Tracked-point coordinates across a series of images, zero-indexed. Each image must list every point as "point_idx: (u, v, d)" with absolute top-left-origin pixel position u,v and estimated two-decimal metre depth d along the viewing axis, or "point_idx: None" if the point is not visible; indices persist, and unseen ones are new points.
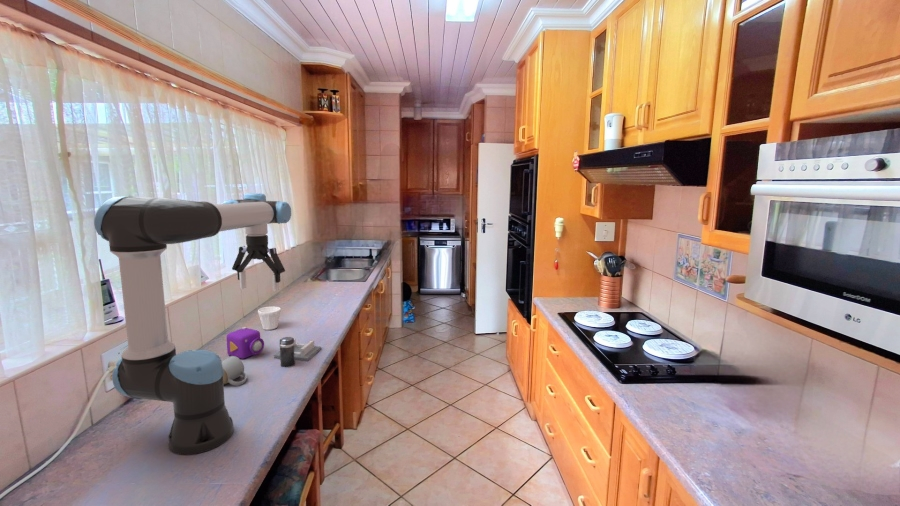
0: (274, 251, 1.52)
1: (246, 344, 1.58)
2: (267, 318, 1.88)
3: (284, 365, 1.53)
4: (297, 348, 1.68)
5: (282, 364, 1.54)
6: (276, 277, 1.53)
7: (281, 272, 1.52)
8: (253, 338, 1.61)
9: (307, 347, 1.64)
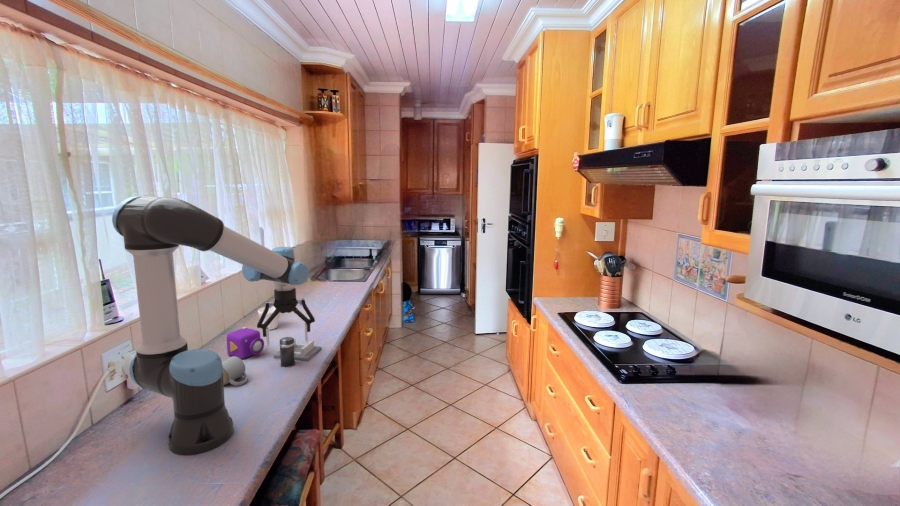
0: None
1: (246, 344, 1.58)
2: (267, 318, 1.88)
3: (284, 365, 1.53)
4: (297, 348, 1.68)
5: (282, 364, 1.54)
6: None
7: None
8: (253, 338, 1.61)
9: (307, 347, 1.64)
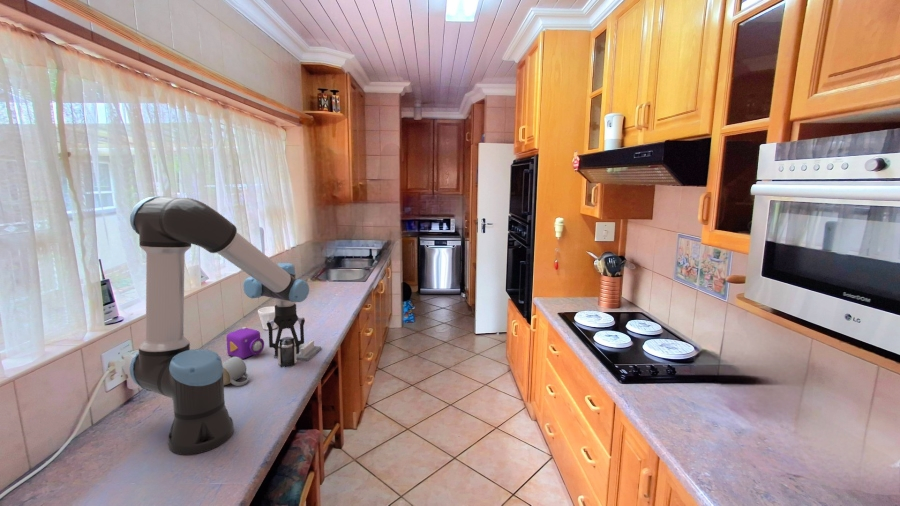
0: None
1: (246, 344, 1.58)
2: (267, 318, 1.88)
3: (284, 365, 1.53)
4: None
5: (282, 364, 1.54)
6: None
7: None
8: (253, 338, 1.61)
9: (307, 347, 1.64)
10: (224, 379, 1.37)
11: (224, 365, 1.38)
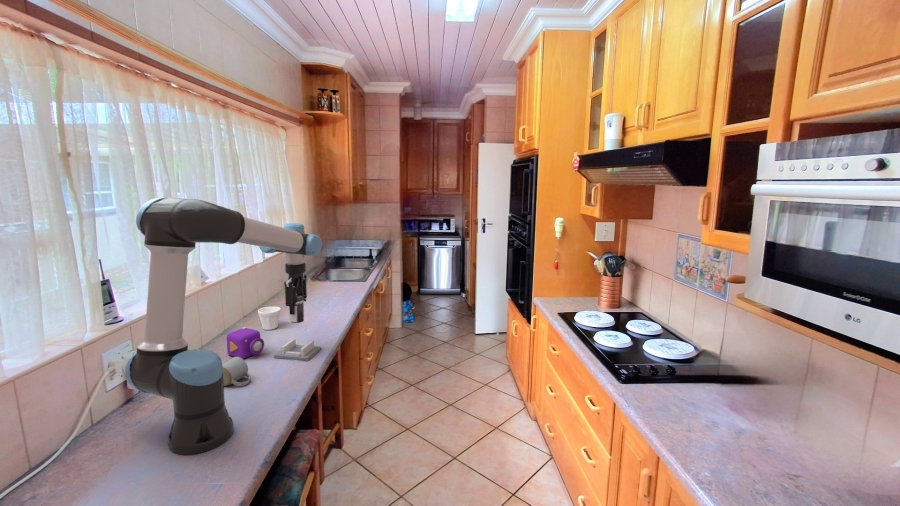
0: (287, 285, 1.55)
1: (246, 344, 1.58)
2: (267, 318, 1.88)
3: (300, 320, 1.62)
4: (297, 348, 1.68)
5: (298, 320, 1.61)
6: None
7: (286, 305, 1.57)
8: (253, 338, 1.61)
9: (307, 347, 1.64)
10: (226, 379, 1.37)
11: (226, 365, 1.38)
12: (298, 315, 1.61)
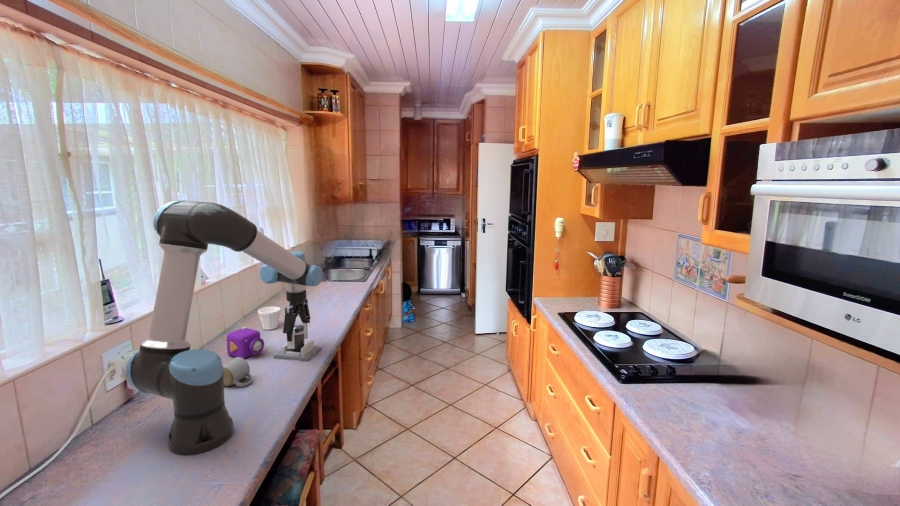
0: (287, 311, 1.56)
1: (246, 344, 1.58)
2: (267, 318, 1.88)
3: None
4: None
5: (299, 350, 1.63)
6: None
7: (283, 332, 1.56)
8: (253, 338, 1.61)
9: (307, 347, 1.64)
10: (227, 380, 1.37)
11: (227, 366, 1.38)
12: (299, 345, 1.63)
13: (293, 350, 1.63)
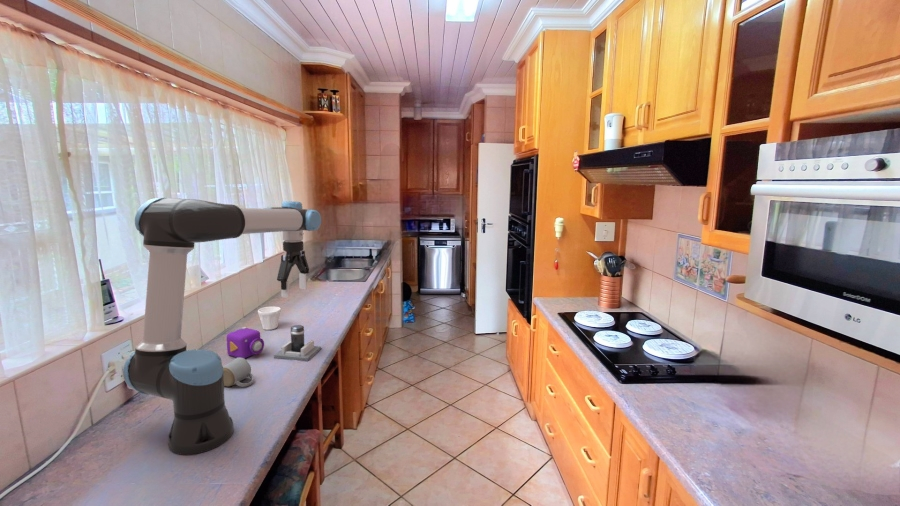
0: (283, 258, 1.54)
1: (246, 344, 1.58)
2: (267, 318, 1.88)
3: None
4: None
5: (299, 350, 1.63)
6: None
7: (277, 279, 1.52)
8: (253, 338, 1.61)
9: (307, 347, 1.64)
10: (229, 380, 1.36)
11: (229, 366, 1.37)
12: (299, 345, 1.63)
13: (293, 350, 1.63)
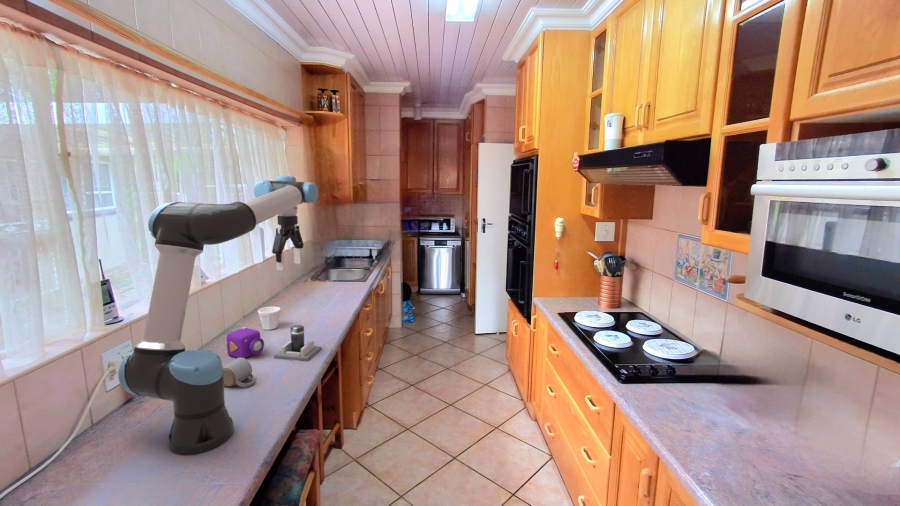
0: (278, 231, 1.57)
1: (246, 344, 1.58)
2: (267, 318, 1.88)
3: None
4: None
5: (299, 350, 1.63)
6: None
7: (272, 252, 1.56)
8: (253, 338, 1.61)
9: (307, 347, 1.64)
10: (230, 380, 1.36)
11: (230, 366, 1.37)
12: (299, 345, 1.63)
13: (293, 350, 1.63)
